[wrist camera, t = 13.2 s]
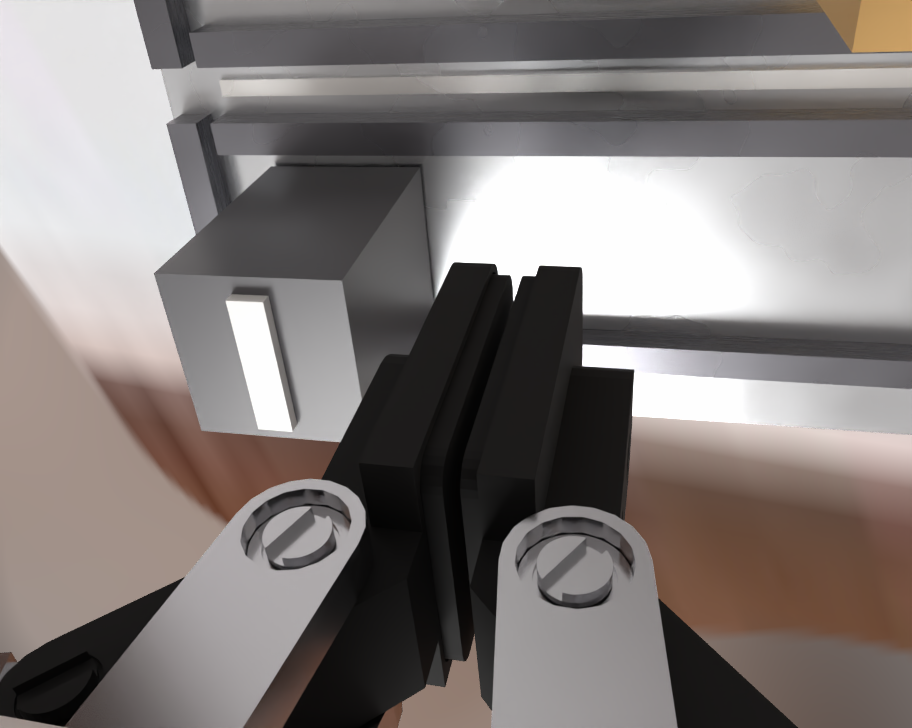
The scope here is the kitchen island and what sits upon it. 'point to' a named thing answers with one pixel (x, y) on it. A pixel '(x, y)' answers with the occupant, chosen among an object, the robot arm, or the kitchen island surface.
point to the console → (602, 172)
